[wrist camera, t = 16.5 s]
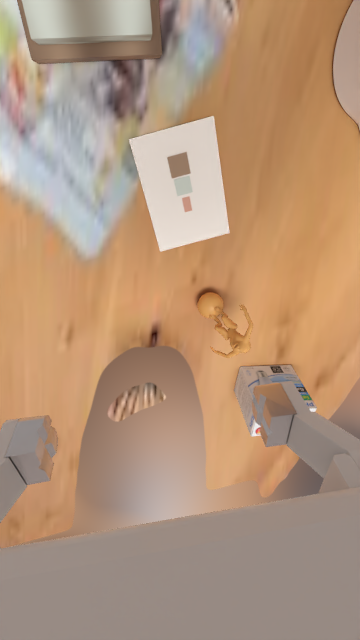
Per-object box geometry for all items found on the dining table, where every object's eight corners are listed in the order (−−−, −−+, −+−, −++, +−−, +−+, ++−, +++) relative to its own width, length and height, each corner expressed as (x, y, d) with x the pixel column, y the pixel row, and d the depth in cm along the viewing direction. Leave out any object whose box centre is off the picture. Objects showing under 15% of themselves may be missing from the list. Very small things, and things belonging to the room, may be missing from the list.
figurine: (210, 272, 46) (232, 316, 37) (242, 286, 49) (271, 332, 39) (184, 314, 50) (198, 365, 40) (215, 326, 52) (235, 377, 43)
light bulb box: (291, 363, 60) (319, 407, 51) (282, 387, 64) (307, 432, 55) (238, 366, 58) (257, 411, 50) (232, 391, 62) (249, 437, 53)
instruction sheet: (213, 115, 35) (213, 115, 35) (229, 232, 43) (229, 233, 43) (128, 139, 35) (128, 139, 35) (160, 251, 43) (160, 251, 43)
